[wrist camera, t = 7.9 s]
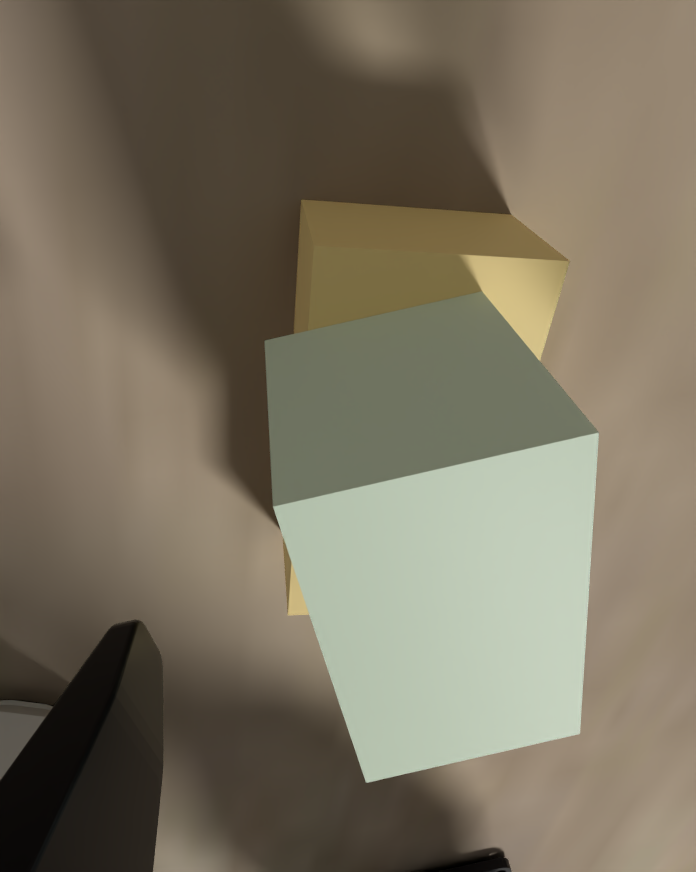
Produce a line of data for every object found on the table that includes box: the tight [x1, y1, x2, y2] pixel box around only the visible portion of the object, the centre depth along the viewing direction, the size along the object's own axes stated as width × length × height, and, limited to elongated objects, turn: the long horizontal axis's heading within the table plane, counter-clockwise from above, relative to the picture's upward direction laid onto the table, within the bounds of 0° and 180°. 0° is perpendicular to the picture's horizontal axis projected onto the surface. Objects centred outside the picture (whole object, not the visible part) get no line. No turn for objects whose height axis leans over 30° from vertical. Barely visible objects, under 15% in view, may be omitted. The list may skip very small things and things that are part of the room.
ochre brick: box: [283, 200, 570, 615], centre depth 13 cm, size 8×4×3 cm, turn 174°
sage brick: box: [265, 291, 599, 783], centre depth 10 cm, size 6×4×4 cm, turn 10°
